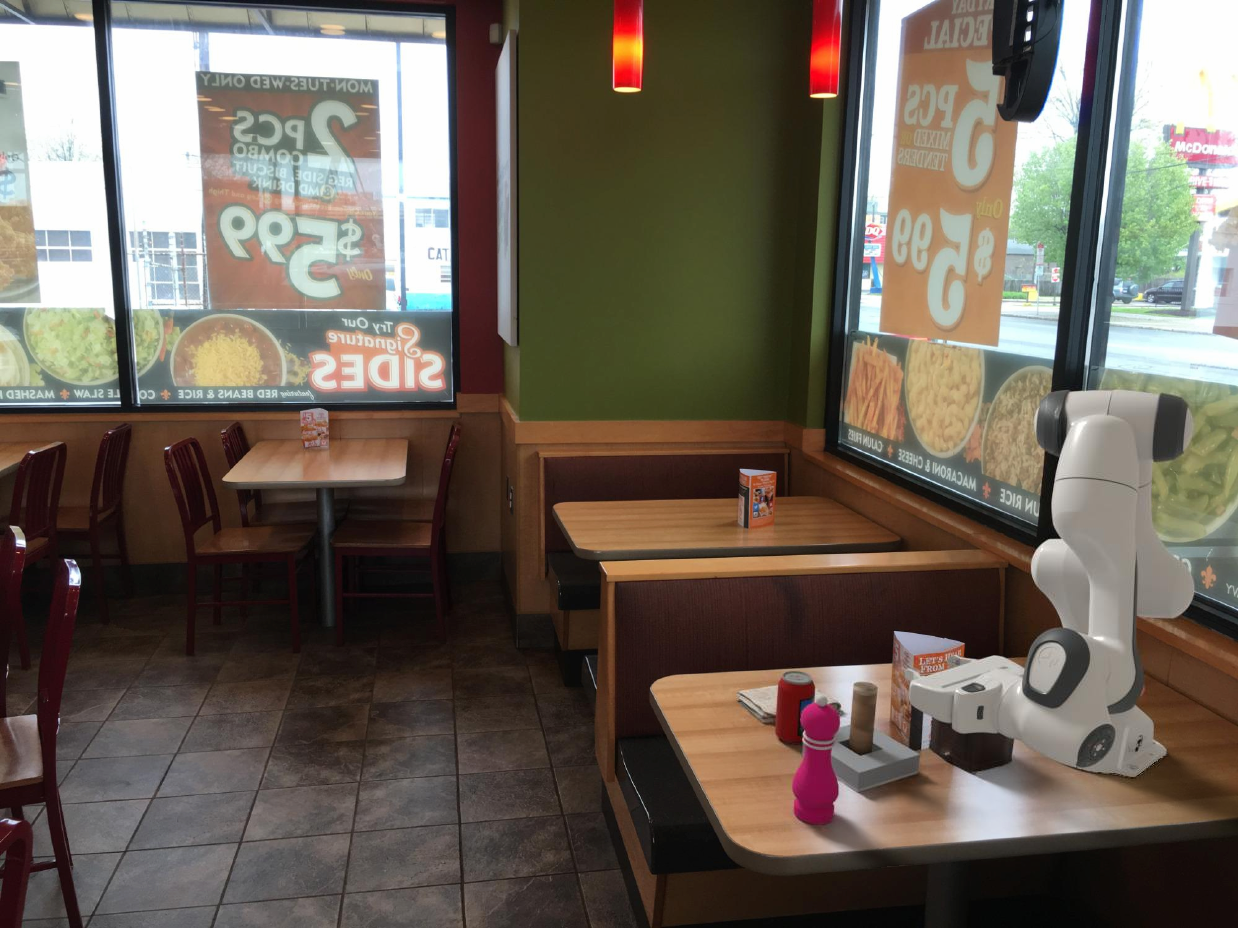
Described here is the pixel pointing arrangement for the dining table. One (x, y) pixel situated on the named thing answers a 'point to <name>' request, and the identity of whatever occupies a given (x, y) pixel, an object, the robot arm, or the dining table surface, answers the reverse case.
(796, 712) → the beverage can
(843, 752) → the hole block
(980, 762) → the manual coffee grinder
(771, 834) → the dining table surface
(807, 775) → the pepper mill
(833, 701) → the washcloth
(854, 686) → the dowel
